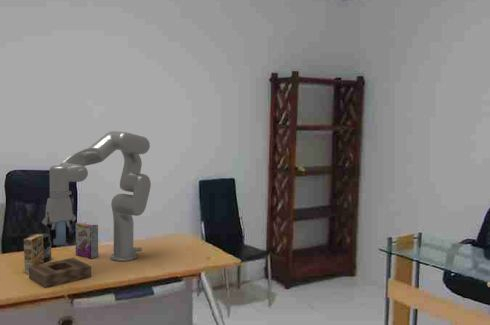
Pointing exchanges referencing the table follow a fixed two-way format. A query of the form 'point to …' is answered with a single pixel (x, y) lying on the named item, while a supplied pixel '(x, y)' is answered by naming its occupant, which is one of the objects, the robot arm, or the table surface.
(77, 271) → the peg block
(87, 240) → the candy bar box
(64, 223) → the peg
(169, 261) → the table surface
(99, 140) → the robot arm
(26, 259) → the candy box
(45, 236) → the supplement container
